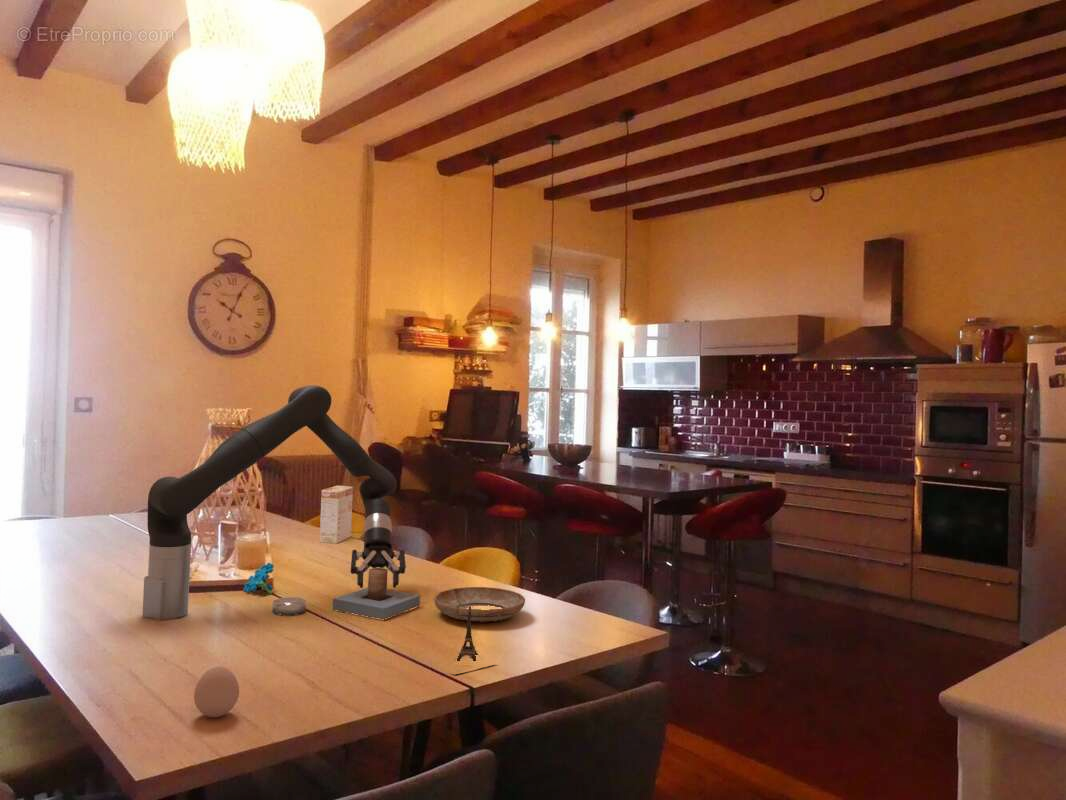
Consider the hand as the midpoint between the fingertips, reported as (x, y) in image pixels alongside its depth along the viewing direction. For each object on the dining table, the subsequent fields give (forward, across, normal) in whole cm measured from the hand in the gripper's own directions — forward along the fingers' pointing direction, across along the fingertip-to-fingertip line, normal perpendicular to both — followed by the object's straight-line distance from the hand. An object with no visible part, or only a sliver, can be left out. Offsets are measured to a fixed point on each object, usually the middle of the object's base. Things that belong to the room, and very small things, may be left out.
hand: (378, 586), depth 205 cm
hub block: (+3, 0, +5) cm, 6 cm away
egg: (+50, -30, -41) cm, 72 cm away
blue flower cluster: (-10, -31, +19) cm, 38 cm away
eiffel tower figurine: (+35, +17, -25) cm, 46 cm away
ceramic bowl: (+10, +26, 0) cm, 27 cm away
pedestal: (+4, -22, +4) cm, 23 cm away
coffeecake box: (-64, -10, +73) cm, 98 cm away
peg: (+3, 0, +5) cm, 6 cm away
